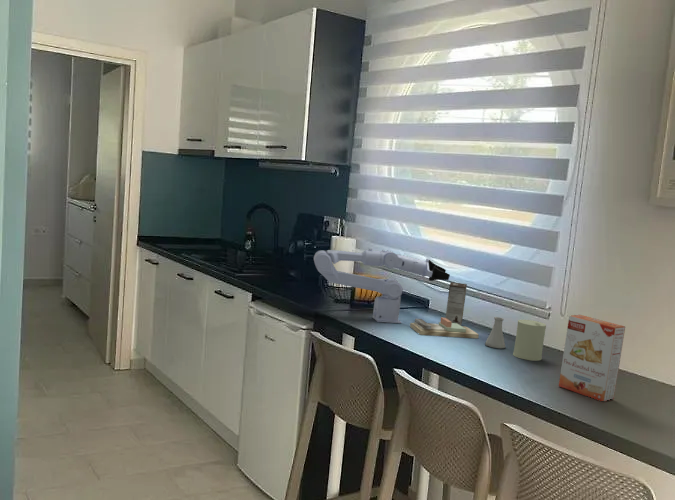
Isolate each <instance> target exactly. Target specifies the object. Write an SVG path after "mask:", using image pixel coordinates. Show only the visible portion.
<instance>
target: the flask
mask: <svg viewBox="0 0 675 500" xmlns="http://www.w3.org/2000/svg"><path fill="white" fill-rule="evenodd" d="M503 321H504V318H503V317H499V316H495V317H494V323H493V327H492V329H491V331H490V333H489V335H488V337H487V339H486V341H485V343H484V345H485V346H487V347H490V348H494V349H500V350H501V349H505V348H506V343H505V337H504V332H503Z"/></svg>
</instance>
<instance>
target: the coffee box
mask: <svg viewBox="0 0 675 500" xmlns="http://www.w3.org/2000/svg"><path fill="white" fill-rule="evenodd" d="M466 294H467V283H460V282H455V281H454V282H453V281H452V282H450V284H449V289H448V294H447V295H448V297H447V302H446V303H447V305H446V311H445V312H446V313H445V318H446V319H448V320H449V321H451V322H452V323H457V324H459V325H461V326H462V323H463V317H464V309H465V302H466Z"/></svg>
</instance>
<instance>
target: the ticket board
mask: <svg viewBox="0 0 675 500" xmlns="http://www.w3.org/2000/svg"><path fill="white" fill-rule="evenodd" d="M461 326H462V325H461ZM409 327H410V329H412V330H413V331H414V332H416V333H419V334H418V335H420V336H432V337H435V336H436V337H447V338H448V337H449V338H463V339H465V338H466V339H479V333H478V332H476V331H475V330H472V329H471V328H470V327H467V326H466V325H465V326H462V327H464V328H465V329H466V332H452V331H446V329H444V328H443V327H441V326H440V325H439V323H430V322H426V320H424V319H422V318H415V319H414V322H410V323H409Z"/></svg>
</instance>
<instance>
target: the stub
mask: <svg viewBox="0 0 675 500" xmlns="http://www.w3.org/2000/svg"><path fill="white" fill-rule="evenodd" d="M438 325H440V326H441V327H443V328H444V329H446V331H452V332H466V329H465V328H464V327H462V324H461V325H459V324H457V323H452V322H451V321H449V320H448V319H446V317H440V321H439V322H438Z"/></svg>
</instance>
